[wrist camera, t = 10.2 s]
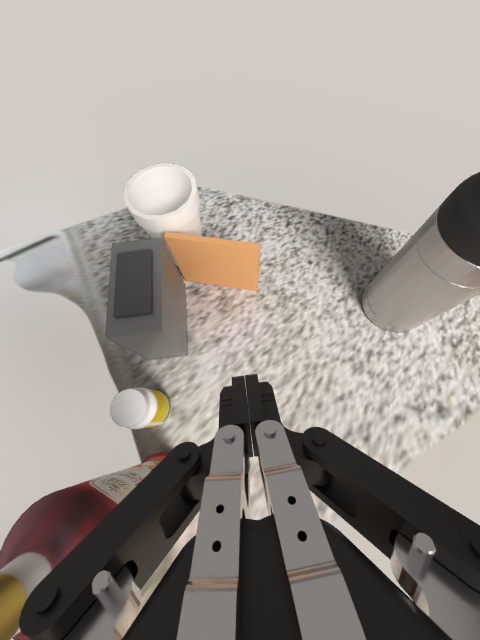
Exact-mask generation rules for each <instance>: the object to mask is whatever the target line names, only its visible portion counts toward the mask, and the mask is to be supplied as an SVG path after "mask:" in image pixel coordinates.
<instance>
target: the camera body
mask: <svg viewBox="0 0 480 640" xmlns="http://www.w3.org/2000/svg"><path fill="white" fill-rule="evenodd" d="M105 338H107V339H109V340H111V341H113V342H115V343H117V344H119V345H121V346H123V347H124V348H126V349H128V350H130V351H132V352H134V353H136V354H138V355H140V356H142V357H143V358H145V359H147V360H154V359H162V358H170V357H178V356H186V355H188V336H187V315H186V293H185V283H184V281H183V279H182V277H181V275H180V274H179V272H178V270H177V268H176V266H175V264H174V262H173V260H172V258H171V256H170V254H169V252H168V250H167V248H166V246H165V244H164V242H163V240H162V238H153V239H145V240H137V241H129V242H121V243H113V244H112V254H111V268H110V282H109V296H108V310H107V323H106V337H105Z"/></svg>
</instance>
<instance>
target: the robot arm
mask: <svg viewBox="0 0 480 640" xmlns="http://www.w3.org/2000/svg"><path fill="white" fill-rule="evenodd" d="M478 294H480V172H479V173H477V174H474V175H472V176H471V177H469V178H468V179H466V180H465V181H463V182H462V183H461V184H460V185H459V186H458V187H457V188H456V189H455V190H454V191H453V192H452V193H451V194H450V195H449V196H448V197H447V198H446V199H445V201H444V202H443V203H442V204H441V205H440V206H439V207H438V208H437V209H436V211H435V212H434V213H433V214H432V215H431V216H430V217H429V218H428V220H426V222H425V223H424V224H423V225H422V226H421V227H420V228H419V229H418V231H417V232H416V233H415V234H414V235H413V236H412V237H411V238H410V239H409V240H408V242H407V243H406V244H405V245H404V246H403V247H402V248H401V249H400V250H399V251H398V253H397V254H396V255H395V256H394V257H393V258H392V259H391V260H390V261H389V263H388V264H387V265H386V266H385V267H384V268H383V269H382V270H381V271H380V272H379V273H378V275H377V276H376V277H375V278H374V279H373V280H372V281H371V282H370V283H369V284H368V286H367V287H366V288H365V290H364V291H363V295H362V306H363V309H364V312H365V314H366V315H367V317H368V318H369V319H370V320H371V321H372V322H373V323H374V324H375V325H377V326H378V327H380V328H382V329H384V330H386V331H390V332H399V333H400V332H406V331H409V330H412V329H414V328H416V327H417V326H419V325H421V324H423V323H425V322H427V321H429V320H431V319H433V318H435V317H437V316H438V315H440V314H442V313H444V312H446V311H448V310H450V309H452V308H454V307H456V306H457V305H459V304H461V303H463V302H465V301H467V300H469V299H471V298H473V297H474V296H476V295H478ZM245 380H246V387H245ZM246 390H247V394H246ZM247 400H248V402H247ZM248 409H249V411H248ZM249 419H250V421H249ZM250 427H251V431H250ZM251 434H252V440H251ZM252 442H253V449H254V456H258V458H259V466H260V473H261V478H262V483H263V488H264V493H265V498H266V503H267V508H268V513H269V516H268V517H265V518H263V519H261V520H252V519H250V473H249V469H250V462H249V457H253V450H252ZM309 490H310V491H312V492H313V493H314V494H315V495H316V496H317V497H318V498H320V499H321V500H322V501H323V502H324V503H325V504H327V505H328V506H329V507H330V508H331V509H332V510H334V511H335V512H336V513H337V514H338V515H339V516H341V517H342V518H343V519H344V520H345V521H346V522H348V523H349V524H350V525H351V526H352V527H353V528H354V529H356V530H357V531H358V532H359V533H360V534H361V535H363V536H364V537H365V538H366V539H367V540H368V541H370V542H371V543H372V544H373V545H374V546H375V547H377V548H378V549H379V550H380V551H381V552H382V553H384V554H385V555H386V556H387V557H388V558H389V559H390V560H391V569H392V572H393V574H394V576H395V578H396V580H397V582H398V583H399V584H400V586H401V587H402V588H403V589H404V590H405V592H406V593H407V594H408V595H409V596H410V597H411V599H412V600H413V601H412V600H411V599H410V598H409V597H408V596H407V595H406V594H405V593H404V592H403V591H402V590H400V588H399V587H397V586H396V585H395V584H394V583H393V582H392V581H391V580H390V579H389V578H388V577H387V576H386V575H385V574H384V573H383V572H382V571H381V570H380V569H379V568H378V567H377V566H376V565H375V564H374V563H372V561H370V560H369V559H368V558H367V557H366V556H365V555H364V554H363V553H362V552H361V551H360V550H359V549H358V548H357V547H356V546H355V545H354V544H353V543H352V542H351V541H350V540H349V539H348V538H347V537H345V536H344V535H343V534H342V533H341V532H340V531H339V530H338V529H337V528H335V527H334V526H333V525H331V524H330V523H328V522H326V521H324V520H322V519H320V518H319V516H318V513H317V510H316V507H315V505H314V502H313V499H312V496H311V494H310V491H309ZM199 510H200V514H199V520H198V527H197V533H196V535H195V536H194V537H193V538H192V539H191V540H190V541H189V542H187V544H186V545H185V546H184V547H183V548H182V550H181V551H180V553H179V554H178V556H177V557H176V559H175V560H174V562H173V563H172V565H171V566H170V568H169V569H168V571H167V572H166V574H165V575H164V577H163V578H162V580H161V581H160V583H159V584H158V586H157V587H156V589H155V590H154V592H153V593H152V595H151V596H150V598H149V599H148V601H147V602H146V604H145V605H144V607H143V608H142V610H141V611H140V613H139V614H138V616H137V617H136V615H137V613H138V610H139V607H140V602H141V592H140V590H141V589H142V587H143V586H144V585H145V583H146V582H147V581H148V579H149V578H150V577H151V575H152V574H153V573H154V571H155V570H156V569H157V567H158V566H159V564H160V563H161V562H162V560H163V559H164V558H165V556H166V555H167V554H168V552H169V551H170V550H171V548H172V547H173V545H174V544H175V543H176V541H177V540H178V539H179V537H180V536H181V535H182V533H183V532H184V531H185V529H186V528H187V527H188V525H189V524H190V522H191V521H192V520H193V518H194V517H195V516H196V514H197V513H198V512H199ZM135 618H136V619H135ZM134 619H135V620H134ZM133 621H134V622H133ZM19 628H20V631H21V632H22V634H23V635H25V636H26V637H27V638H28V639H29V640H480V525H478V524H476V523H475V522H473V521H472V520H470V519H468V518H467V517H465V516H463V515H462V514H460V513H459V512H457V511H456V510H454V509H452V508H451V507H449V506H448V505H446V504H444V503H443V502H441V501H440V500H438V499H436V498H435V497H433V496H432V495H430V494H428V493H427V492H425V491H423V490H422V489H420V488H419V487H417V486H415V485H414V484H412V483H411V482H409V481H408V480H406V479H404V478H403V477H401V476H400V475H398V474H396V473H395V472H393V471H392V470H390V469H388V468H387V467H385V466H384V465H382V464H380V463H379V462H377V461H376V460H374V459H372V458H371V457H369V456H368V455H366V454H364V453H363V452H361V451H360V450H358V449H356V448H355V447H353V446H352V445H350V444H348V443H347V442H345V441H344V440H342V439H340V438H339V437H337V436H336V435H334V434H332V433H331V432H329V431H328V430H326V429H324V428H320V427H311V428H309V429H307V430H306V431H305V432H304V433H297V432H293V431H290V430H288V429H287V428H285V427H284V426H283V425H282V423H281V420H280V416H279V412H278V408H277V404H276V401H275V396H274V392H273V388H272V386H271V385H270V384H269V383H268V382H260V383H259V382H258V376H257V374H252V375H245V379H244V376H237V377H232V386H228V387H224V388H223V389H222V391H221V393H220V408H219V430H218V431H217V433H216V435H215V437H214V438H213V439H212V440H211V441H210V442H208V443H206V444H203V445H201V446H199V447H198V446H197V445H196V444H195V443H192V442H185V443H181V444H179V445H178V446H176V447H175V448H174V449H173V450H172V451H171V452H170V453H169V454H168V455H167V456H166V457H165V458H164V459H163V460H162V461H161V462H160V463H159V464H158V465H157V466H156V467H155V468H154V469H153V470H152V471H151V472H150V473H149V474H148V475H147V476H146V477H145V478H144V479H143V480H142V481H141V482H140V483H139V484H138V485H137V486H136V487H135V488H134V489H133V490H132V491H131V492H130V493H129V494H128V495H127V496H126V497H125V498H124V499H123V500H122V501H121V502H120V503H119V504H118V505H117V506H116V507H115V508H114V509H113V510H112V511H111V512H110V513H109V514H108V515H107V516H106V517H105V518H104V519H103V520H102V521H101V522H100V523H99V524H98V525H97V526H96V527H95V528H94V529H93V530H92V531H91V532H90V533H89V534H88V535H87V536H86V537H85V538H84V539H83V540H82V541H81V542H80V543H79V544H78V545H77V546H76V547H75V548H74V549H73V550H72V551H71V552H70V553H69V554H68V555H67V556H66V557H65V558H64V559H63V560H62V561H61V562H60V563H59V564H58V565H57V566H56V567H55V568H54V569H53V570H52V571H51V572H50V573H49V574H48V575H47V576H46V577H45V578H44V579H43V580H42V581H41V582H40V583H39V584H38V585H37V586H36V587H35V588H34V590H33V591H32V592H31V594H30V595H29V597H28V598H27V600H26V602H25V604H24V606H23V608H22V611H21V614H20V618H19Z"/></svg>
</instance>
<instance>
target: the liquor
mask: <svg viewBox="0 0 480 640" xmlns="http://www.w3.org/2000/svg"><path fill="white" fill-rule="evenodd" d="M167 455H168V454H166V453H158V454H154V455H152V456H150V457H148V458H147V459H145V460H144V461H143V462H142V463H141V464H140V465H137V466H134V467H131V468H128V469H125V470H122V471H118V472H115V473H111V474H108V475H104V476H101V477H98V478H95V479H92V480H89V481H86V482H83V483H80V484H77V485H74V486H72V487H68V488H65V489H62V490H59V491H56V492H53V493H51V494H49V495H47V496H44V497H43V498H41V499H40V500H38V501H37V502H35V503H34V504H32V505H31V506H30V507H29V508H28V509H27V510H26V511H25V512H24V513H23V514H22V515H21V516H20V518H19V519H18V520H17V521H16V523H15V524H14V525H13V527H12V528H11V530H10V532H9V534H8V535H7V537H6V539H5V541H4V543H3V546H2V549H1V551H0V640H10V639H12V638H13V639H14V640H29V639H28V638H27V637H26V636H25V635H23V634H22V632H21V631H20V628H19V618H20V614H21V611H22V608H23V606H24V604H25V602H26V600H27V598H28V597H29V595H30V594H31V592H32V591H33V590H34V588H35V587H36V586H37V585H38V584H39V583H40V582H41V581H42V580H43V579H44V578H45V577H46V576H47V575H48V574H49V573H50V572H51V571H52V570H53V569H54V568H55V567H56V566H57V565H58V564H59V563H60V562H61V561H62V560H63V559H64V558H65V557H66V556H67V555H68V554H69V553H70V552H71V551H72V550H73V549H74V548H75V547H76V546H77V545H78V544H79V543H80V542H81V541H82V540H83V539H84V538H85V537H86V536H87V535H88V534H89V533H90V532H91V531H92V530H93V529H94V528H95V527H96V526H97V525H98V524H99V523H100V522H101V521H102V520H103V519H104V518H105V517H106V516H107V515H108V514H109V513H110V512H111V511H112V510H113V509H114V508H115V507H116V506H117V505H118V504H119V503H120V502H121V501H122V500H123V499H124V498H125V497H126V496H127V495H128V494H129V493H130V492H131V491H132V490H133V489H134V488H135V487H136V486H137V485H138V484H139V483H140V482H141V481H142V480H143V479H144V478H145V477H146V476H147V475H148V474H149V473H150V472H151V471H152V470H153V469H154V468H155V467H156V466H157V465H158V464H159V463H160V462H161V461H162V460H163V459H164V458H165V457H166V456H167Z"/></svg>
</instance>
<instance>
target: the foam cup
mask: <svg viewBox="0 0 480 640" xmlns="http://www.w3.org/2000/svg"><path fill="white" fill-rule="evenodd" d="M124 203H125V204H126V206H127V208H128V210H129V211H130V213H131V215H132V216H133V218H134V219H135V220H136V222H137V223H138V225H139V226H141V227H143V229H144V230H145V231H146V232H147V233H148V235H149V236H150V237H151V238H152V239H153V238H162V240H163V242H164V244H165V246H166V248H167V250H168V252H169V254H170V256H171V258H172V260H173V262H174V264H175V265H177V263H176V261H175V259H174V257H173V255H172V253H171V251H170V249H169V247H168V245H167V243H166V241H165V239H164V234H165V232H172V233H180V234H188V235H195V236H202V235H201V223H200V211H199V207H200V199H199V192H198V188H197V184H196V180H195V177H194V176H193V175H192V174H191V173H190V172H189V171H188V170H187V169H186V168H184V167H181V166H179V165H176V164H169V163H167V164H166V163H162V164H161V163H158V164H155V165H152V166H149V167H146V168H143V169H141V170H140V171H139V172H137V173H136V174H135V175H133V176H132V177H131V178H130V180H129V181H128V183H127V185H126V187H125V188H124ZM177 266H178V265H177Z"/></svg>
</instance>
